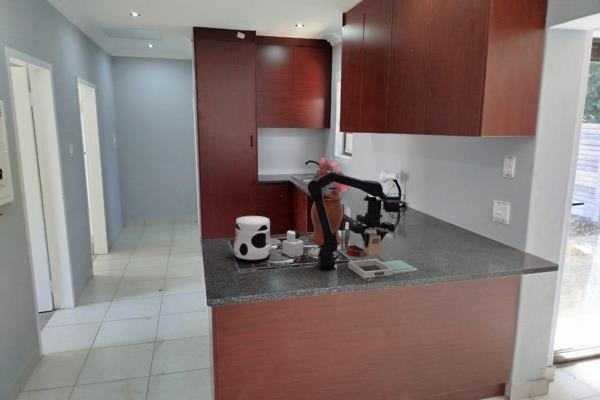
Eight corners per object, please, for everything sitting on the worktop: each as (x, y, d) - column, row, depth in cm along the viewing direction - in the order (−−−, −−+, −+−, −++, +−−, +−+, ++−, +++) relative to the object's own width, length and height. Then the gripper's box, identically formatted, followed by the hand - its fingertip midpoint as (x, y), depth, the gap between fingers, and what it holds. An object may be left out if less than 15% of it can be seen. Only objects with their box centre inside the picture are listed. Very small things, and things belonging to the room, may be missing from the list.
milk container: (229, 253, 192) (229, 216, 189) (264, 250, 199) (265, 214, 196) (239, 265, 177) (239, 225, 173) (276, 261, 183) (277, 222, 180)
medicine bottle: (291, 252, 198) (292, 228, 195) (303, 255, 193) (304, 230, 191) (282, 255, 192) (282, 230, 190) (293, 258, 188) (294, 233, 186)
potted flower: (323, 233, 233) (326, 155, 225) (355, 244, 213) (360, 158, 205) (297, 238, 221) (299, 155, 213) (328, 250, 202) (332, 160, 193)
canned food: (352, 259, 204) (357, 240, 206) (368, 262, 197) (373, 243, 199) (339, 253, 197) (344, 233, 199) (355, 256, 189) (361, 235, 192)
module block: (369, 255, 170) (370, 237, 169) (363, 251, 175) (364, 233, 173) (379, 254, 172) (381, 236, 170) (373, 250, 177) (374, 232, 175)
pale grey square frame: (364, 279, 165) (365, 273, 165) (348, 267, 179) (348, 261, 178) (394, 275, 170) (394, 269, 170) (375, 264, 184) (375, 258, 183)
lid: (391, 274, 172) (392, 271, 172) (376, 264, 183) (377, 262, 183) (417, 271, 177) (417, 268, 176) (401, 262, 188) (401, 259, 187)
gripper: (382, 206, 181) (380, 240, 184) (345, 208, 174) (343, 243, 177) (397, 211, 171) (394, 247, 174) (357, 214, 164) (355, 251, 167)
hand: (371, 247), depth 173 cm, fingers closed on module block, 5 cm apart
